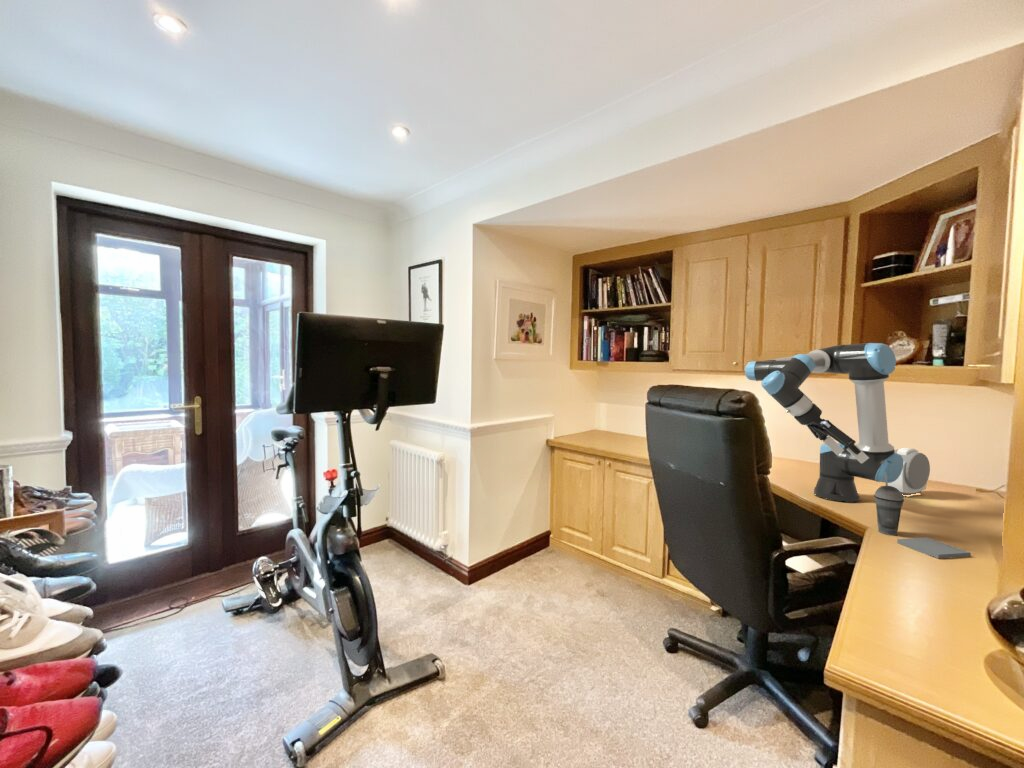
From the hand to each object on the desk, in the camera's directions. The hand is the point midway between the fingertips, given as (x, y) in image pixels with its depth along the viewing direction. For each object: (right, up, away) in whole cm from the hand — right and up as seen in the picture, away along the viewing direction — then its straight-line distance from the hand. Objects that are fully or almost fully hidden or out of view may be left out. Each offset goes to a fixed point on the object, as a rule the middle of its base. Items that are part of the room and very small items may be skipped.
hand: (852, 456), depth 138 cm
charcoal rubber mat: (+12, -25, -14) cm, 32 cm away
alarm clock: (+59, -24, +43) cm, 77 cm away
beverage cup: (+11, -25, -1) cm, 27 cm away
